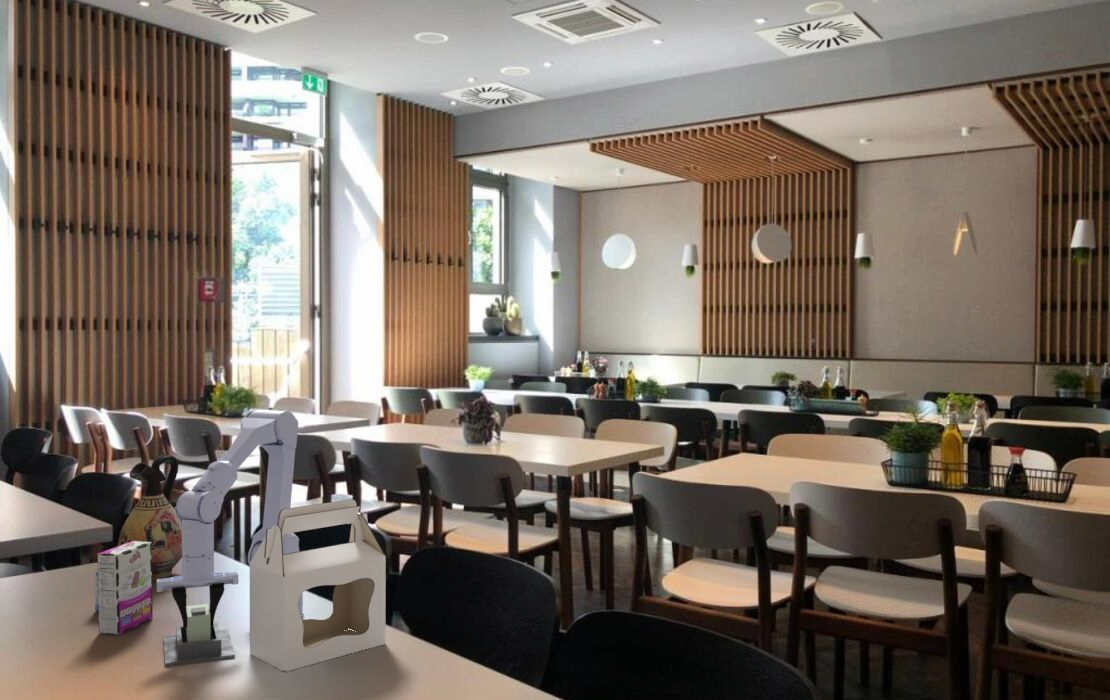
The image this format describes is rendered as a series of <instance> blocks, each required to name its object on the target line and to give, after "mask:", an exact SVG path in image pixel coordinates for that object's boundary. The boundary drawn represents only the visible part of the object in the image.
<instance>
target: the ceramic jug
mask: <svg viewBox="0 0 1110 700" xmlns="http://www.w3.org/2000/svg"><path fill="white" fill-rule="evenodd" d="M151 463H152V464H151V465H149V464H146V463H144V462H139V463H137V464H135V465H134V466H132V468H131V470H130V472H129V474H128V475H129V478H130V479H133V480H136V481H139V482H142V483H144V484H145V485H146V487H145V490H144V493H143V495H142V496H141V498H140V499H139V500H138V501H137V503H136V504H135V505H134V506H133V508H132V510H131V511H130V513H129V515H128V516H127V518H126V519H125V521H124V524H123V525H122V528H121V531H120V532H119V537H118V540H117V541H118V542H117V547H118V546H120V545H123V544H126V543H129V542H131V541H143V542H151V564H152V580H153V581H157V579H165V578H169V577H170V576H171V575H172V572H173V569H174V568H175V567H176V565H177V564H178V563H179V562H180V560H182V530H181V529H180V527H179V520H178V518H177V517H176V515H175V511H174V507H173V505H172V501H171V500H172V499H171V498H172V491H173V489H174V484H175V482H176V479H177V475H178V473H179V462H178V459H177V458H176V457H175V456H174V455H172V454H161V455H159V456H156V458H155V459H153V461H152V462H151ZM162 464H169V467H170V468H169V471H168V474H167V477H166V476H165V473H163V471H162V470H161V469H160V468H161V466H162ZM164 481H166V482H165V484H164V487H163V489H162V486H161V483H162V482H164Z"/></svg>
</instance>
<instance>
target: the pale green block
mask: <svg viewBox="0 0 1110 700" xmlns="http://www.w3.org/2000/svg"><path fill="white" fill-rule="evenodd" d="M209 607H210V606H209V603H203V604H194V605H186V613H187V627H186V635H187V642H196V641H204V640H210V611H209Z"/></svg>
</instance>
